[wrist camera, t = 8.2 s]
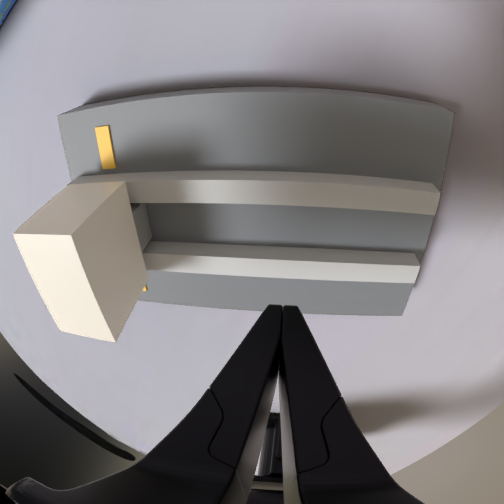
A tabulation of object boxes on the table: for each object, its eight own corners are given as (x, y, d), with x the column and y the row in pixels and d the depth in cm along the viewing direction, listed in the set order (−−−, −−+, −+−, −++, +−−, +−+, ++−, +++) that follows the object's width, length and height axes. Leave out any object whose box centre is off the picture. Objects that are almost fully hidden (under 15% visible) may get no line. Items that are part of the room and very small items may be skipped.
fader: (158, 261, 16) (115, 342, 12) (109, 258, 16) (60, 330, 12) (139, 168, 13) (70, 235, 9) (84, 172, 13) (12, 233, 9)
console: (394, 291, 18) (405, 329, 15) (122, 276, 20) (102, 308, 17) (435, 103, 12) (465, 117, 9) (80, 105, 13) (44, 121, 11)
